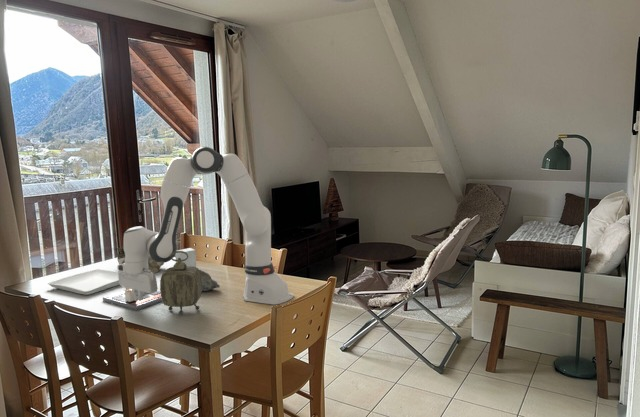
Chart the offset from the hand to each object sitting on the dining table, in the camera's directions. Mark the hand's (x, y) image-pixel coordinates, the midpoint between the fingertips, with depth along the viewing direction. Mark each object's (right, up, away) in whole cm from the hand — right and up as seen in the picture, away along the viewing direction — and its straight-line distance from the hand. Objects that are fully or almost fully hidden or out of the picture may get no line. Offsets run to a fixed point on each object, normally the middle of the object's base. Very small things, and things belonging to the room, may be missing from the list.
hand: (138, 300), depth 197 cm
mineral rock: (+21, 0, +21) cm, 30 cm away
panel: (-5, -2, +11) cm, 12 cm away
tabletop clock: (+19, -4, -6) cm, 21 cm away
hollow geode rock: (-21, +5, +59) cm, 63 cm away
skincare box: (+9, +2, +40) cm, 41 cm away
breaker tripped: (-5, -1, +3) cm, 6 cm away
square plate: (-34, 0, +32) cm, 46 cm away
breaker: (-8, +1, +13) cm, 15 cm away
